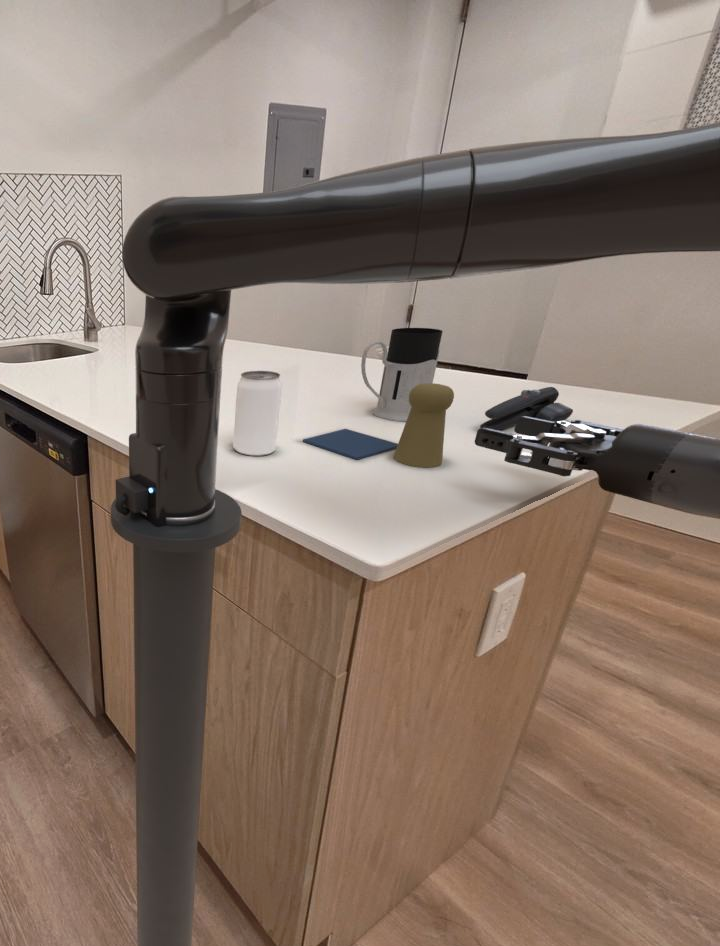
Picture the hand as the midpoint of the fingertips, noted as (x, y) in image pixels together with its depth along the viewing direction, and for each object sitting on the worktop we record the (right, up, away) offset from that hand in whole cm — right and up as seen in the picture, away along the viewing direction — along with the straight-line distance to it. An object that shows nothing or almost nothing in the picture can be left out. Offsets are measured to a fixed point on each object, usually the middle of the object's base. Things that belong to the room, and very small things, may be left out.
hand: (497, 429), depth 65 cm
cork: (-4, -4, +10) cm, 11 cm away
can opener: (+21, +3, +22) cm, 31 cm away
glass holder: (+4, +5, +30) cm, 30 cm away
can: (-25, -2, +17) cm, 30 cm away
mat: (-10, -1, +17) cm, 20 cm away
